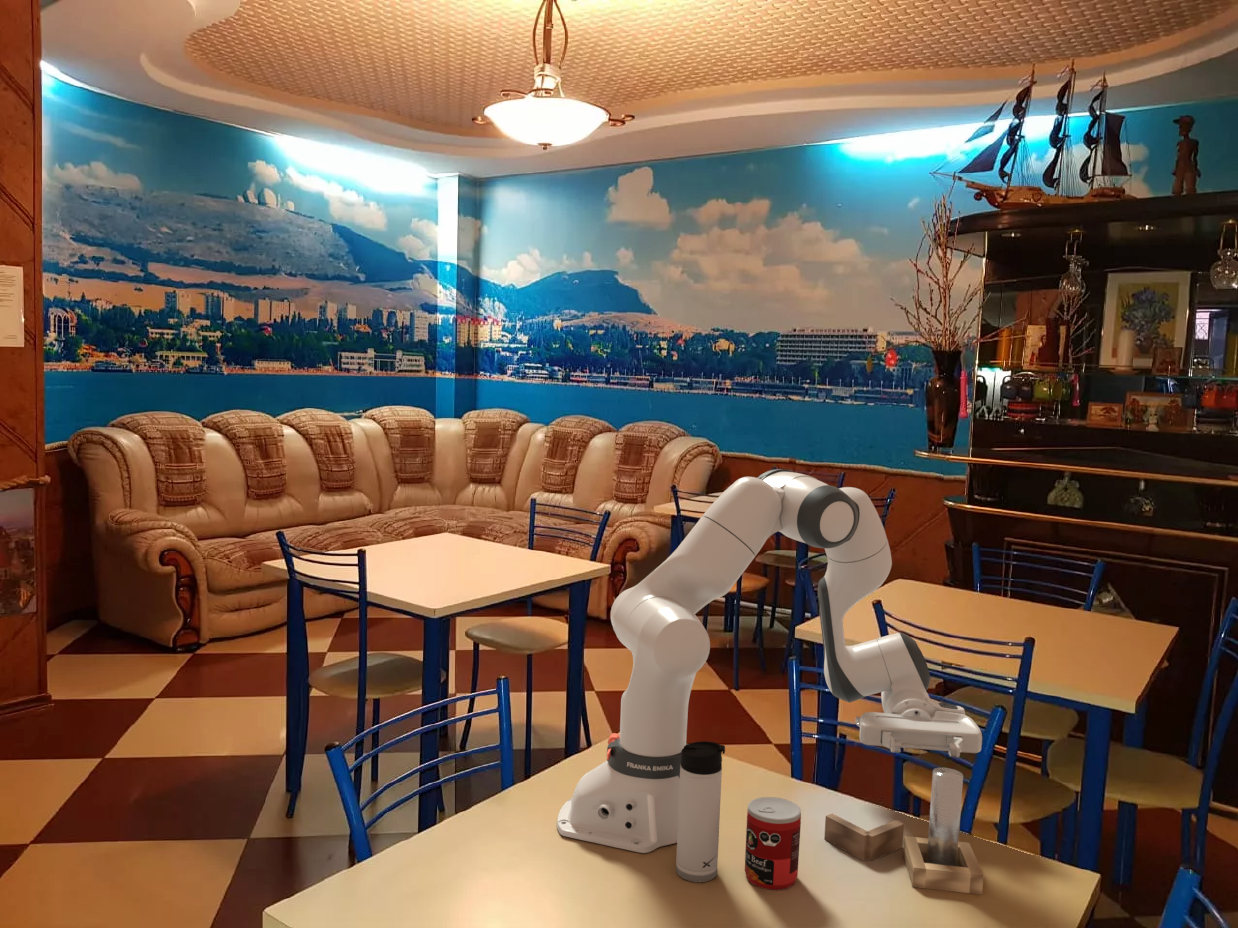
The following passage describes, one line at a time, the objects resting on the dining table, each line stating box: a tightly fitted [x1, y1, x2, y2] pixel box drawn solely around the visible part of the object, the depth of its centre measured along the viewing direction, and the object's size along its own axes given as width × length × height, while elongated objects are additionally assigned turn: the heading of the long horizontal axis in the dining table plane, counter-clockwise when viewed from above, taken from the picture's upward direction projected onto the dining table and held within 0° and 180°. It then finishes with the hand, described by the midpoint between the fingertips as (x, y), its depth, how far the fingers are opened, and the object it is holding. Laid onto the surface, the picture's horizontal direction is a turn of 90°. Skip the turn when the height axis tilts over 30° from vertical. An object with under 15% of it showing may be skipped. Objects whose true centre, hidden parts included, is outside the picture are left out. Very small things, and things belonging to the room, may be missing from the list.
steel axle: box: [926, 767, 964, 867], centre depth 144 cm, size 4×4×16 cm
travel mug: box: [675, 740, 726, 883], centre depth 142 cm, size 6×7×20 cm
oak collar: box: [902, 835, 984, 896], centre depth 145 cm, size 10×10×3 cm
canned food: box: [744, 796, 802, 891], centre depth 141 cm, size 8×8×11 cm
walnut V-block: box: [824, 813, 905, 862], centre depth 151 cm, size 12×7×4 cm, turn 81°
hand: (925, 750), depth 156 cm, fingers open, 8 cm apart
